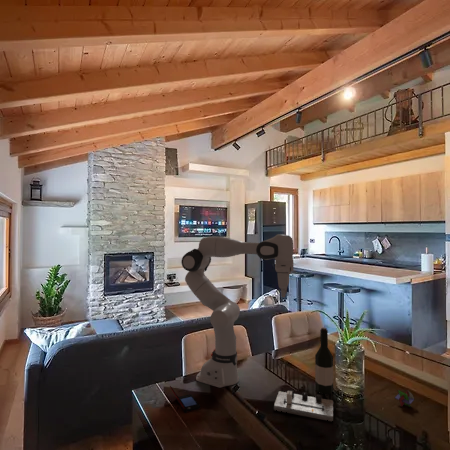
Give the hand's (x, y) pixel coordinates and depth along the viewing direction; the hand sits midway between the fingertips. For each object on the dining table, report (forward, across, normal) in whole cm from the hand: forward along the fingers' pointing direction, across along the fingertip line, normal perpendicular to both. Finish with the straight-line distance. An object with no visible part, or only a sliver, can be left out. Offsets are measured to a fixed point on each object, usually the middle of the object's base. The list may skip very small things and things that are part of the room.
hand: (284, 295), depth 151 cm
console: (+46, +13, +10) cm, 49 cm away
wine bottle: (+46, -6, +19) cm, 50 cm away
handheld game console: (+47, +25, -42) cm, 67 cm away
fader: (+44, +14, +4) cm, 46 cm away
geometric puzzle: (+46, -1, +53) cm, 70 cm away
